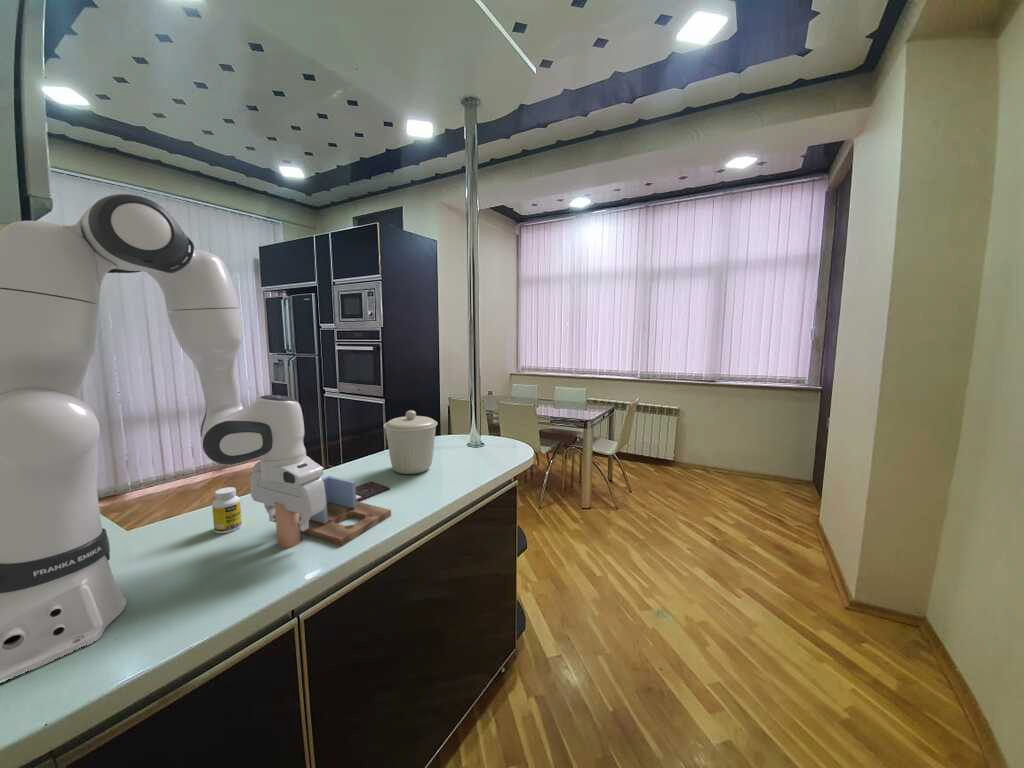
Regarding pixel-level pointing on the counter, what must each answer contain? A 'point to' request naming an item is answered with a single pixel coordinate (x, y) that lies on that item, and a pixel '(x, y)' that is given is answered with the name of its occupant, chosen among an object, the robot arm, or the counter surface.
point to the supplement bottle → (226, 510)
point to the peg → (286, 527)
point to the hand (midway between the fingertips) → (289, 524)
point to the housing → (336, 495)
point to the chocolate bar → (369, 490)
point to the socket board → (347, 533)
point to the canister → (411, 442)
